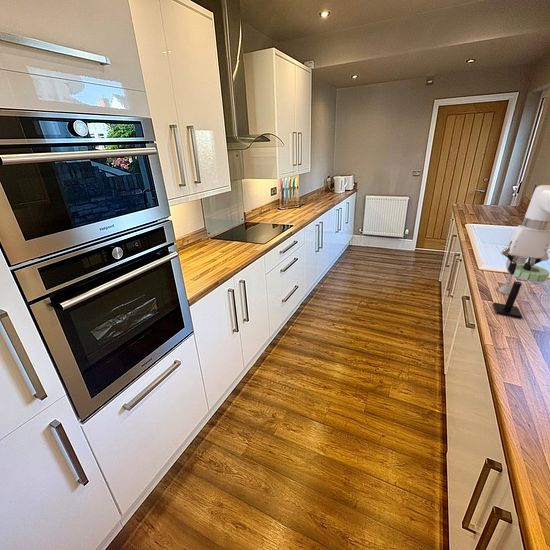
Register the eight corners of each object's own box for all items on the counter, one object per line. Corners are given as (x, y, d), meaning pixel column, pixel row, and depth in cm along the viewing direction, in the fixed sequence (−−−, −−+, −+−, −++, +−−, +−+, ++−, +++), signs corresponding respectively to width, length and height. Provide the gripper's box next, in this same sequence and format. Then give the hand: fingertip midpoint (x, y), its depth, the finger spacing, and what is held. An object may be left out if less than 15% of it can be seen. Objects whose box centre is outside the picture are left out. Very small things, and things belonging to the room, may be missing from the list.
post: (516, 308, 119) (527, 280, 114) (521, 318, 113) (534, 289, 107) (493, 304, 122) (503, 276, 117) (496, 313, 116) (507, 285, 110)
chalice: (495, 292, 132) (508, 255, 124) (495, 286, 137) (508, 250, 129) (515, 296, 128) (530, 258, 120) (514, 290, 133) (529, 254, 125)
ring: (541, 272, 105) (544, 266, 104) (550, 284, 97) (553, 277, 96) (508, 268, 109) (511, 261, 108) (515, 278, 101) (517, 272, 100)
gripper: (564, 224, 96) (542, 273, 104) (504, 218, 103) (488, 266, 111) (573, 230, 90) (549, 282, 98) (509, 224, 97) (492, 273, 105)
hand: (517, 273), depth 104 cm, fingers closed on ring, 3 cm apart
